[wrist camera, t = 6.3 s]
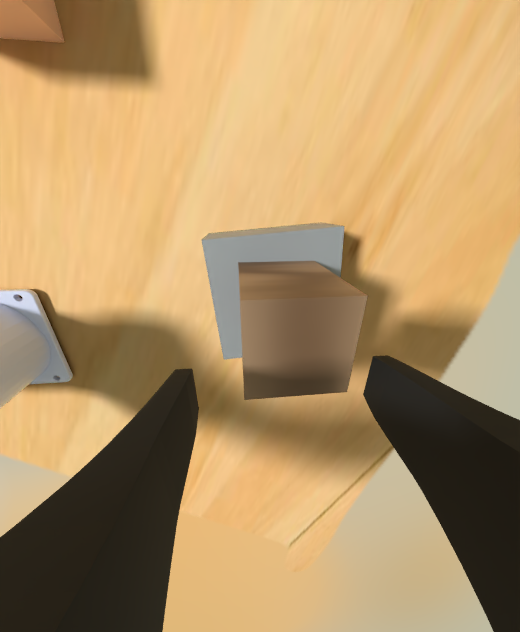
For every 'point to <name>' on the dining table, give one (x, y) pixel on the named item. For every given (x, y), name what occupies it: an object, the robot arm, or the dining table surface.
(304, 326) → the walnut block
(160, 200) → the dining table surface
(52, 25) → the terracotta cube
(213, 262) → the grey base block
